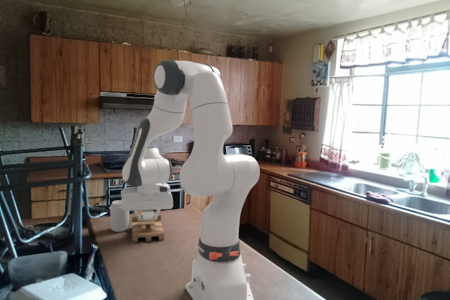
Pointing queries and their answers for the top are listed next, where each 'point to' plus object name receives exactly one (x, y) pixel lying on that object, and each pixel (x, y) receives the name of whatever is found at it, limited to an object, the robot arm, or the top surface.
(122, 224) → the can
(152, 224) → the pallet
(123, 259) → the top surface
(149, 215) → the white rectangular block
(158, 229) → the dock
